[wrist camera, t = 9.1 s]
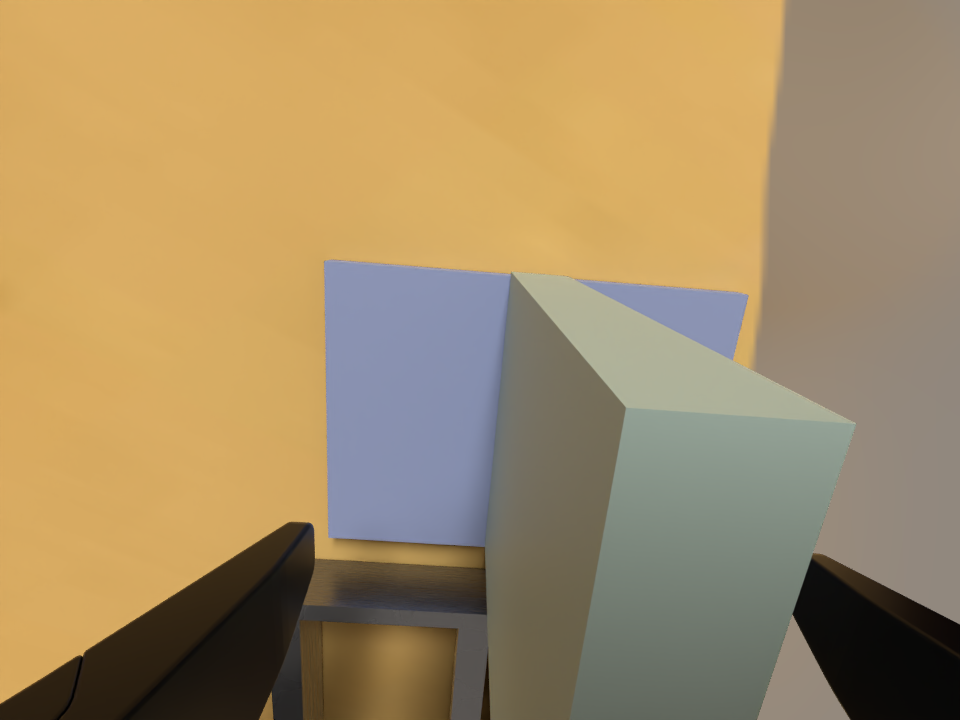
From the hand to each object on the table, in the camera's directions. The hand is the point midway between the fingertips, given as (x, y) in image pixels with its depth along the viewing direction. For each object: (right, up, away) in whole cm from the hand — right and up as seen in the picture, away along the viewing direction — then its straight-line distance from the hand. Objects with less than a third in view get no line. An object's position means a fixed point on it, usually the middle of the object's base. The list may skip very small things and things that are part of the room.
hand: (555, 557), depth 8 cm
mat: (0, +2, +6) cm, 6 cm away
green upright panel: (0, +2, +6) cm, 6 cm away
